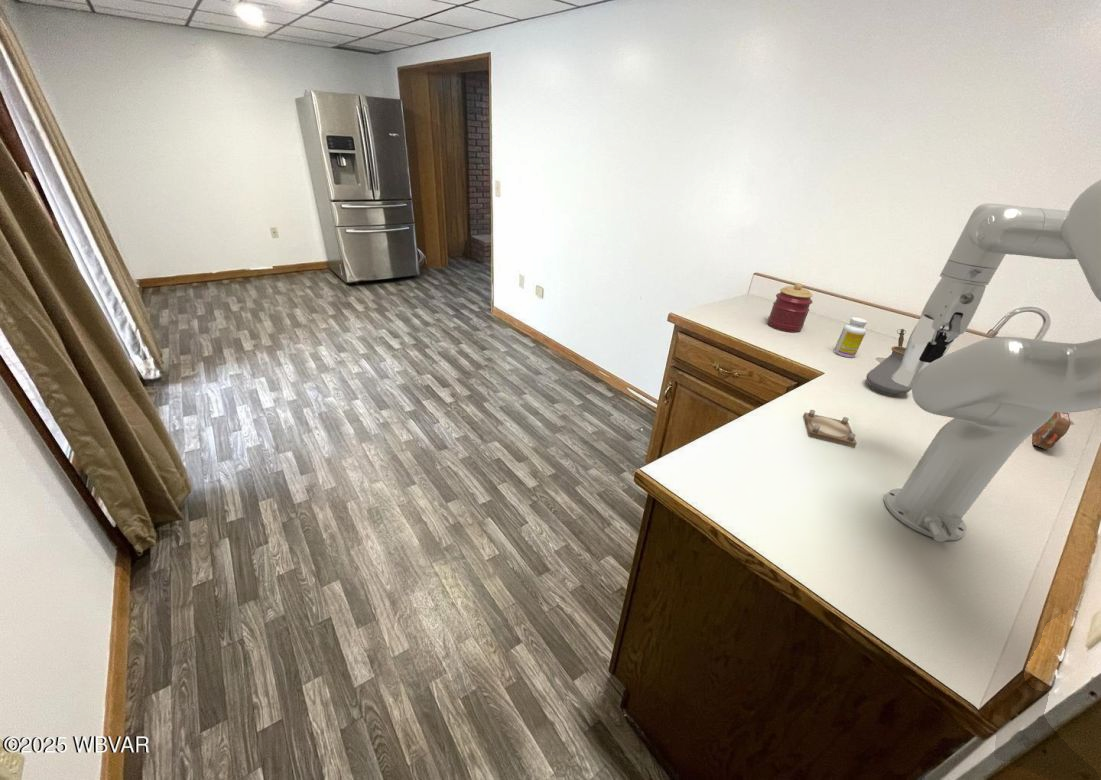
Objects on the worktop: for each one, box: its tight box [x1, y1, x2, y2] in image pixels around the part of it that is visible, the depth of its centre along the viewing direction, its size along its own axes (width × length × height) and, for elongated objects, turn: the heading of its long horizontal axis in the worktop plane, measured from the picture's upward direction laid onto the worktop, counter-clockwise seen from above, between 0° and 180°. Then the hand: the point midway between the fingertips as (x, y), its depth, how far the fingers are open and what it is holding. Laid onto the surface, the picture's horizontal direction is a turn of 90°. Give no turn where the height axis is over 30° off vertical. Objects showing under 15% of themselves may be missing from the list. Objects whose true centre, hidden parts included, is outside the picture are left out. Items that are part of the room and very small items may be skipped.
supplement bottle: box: [833, 316, 868, 358], centre depth 149 cm, size 7×7×13 cm
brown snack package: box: [1031, 412, 1071, 450], centre depth 108 cm, size 15×3×8 cm, turn 134°
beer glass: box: [891, 313, 954, 388], centre depth 92 cm, size 7×7×15 cm
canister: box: [767, 283, 813, 333], centre depth 168 cm, size 13×13×18 cm
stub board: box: [803, 409, 858, 448], centre depth 107 cm, size 10×10×3 cm
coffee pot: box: [866, 328, 912, 397], centre depth 130 cm, size 21×12×15 cm, turn 149°
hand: (922, 354), depth 93 cm, fingers closed on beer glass, 6 cm apart
